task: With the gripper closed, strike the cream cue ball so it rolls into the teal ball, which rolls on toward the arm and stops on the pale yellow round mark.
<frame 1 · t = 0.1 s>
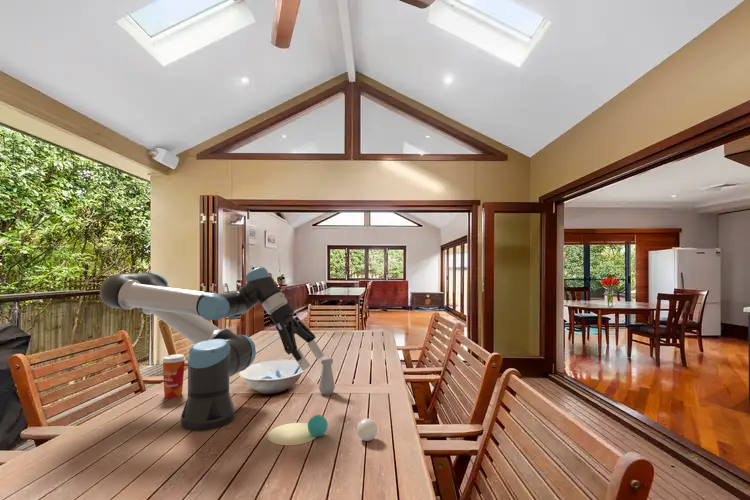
hand: (314, 362, 125), 15 cm above the table, tool tilted 35°, fingers open, 13 cm apart
paper cup: (173, 396, 139), on the table
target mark: (293, 433, 108), on the table
salt shaker: (326, 394, 141), on the table
cue ball: (367, 429, 104), on the table
teal ball: (317, 425, 107), on the table
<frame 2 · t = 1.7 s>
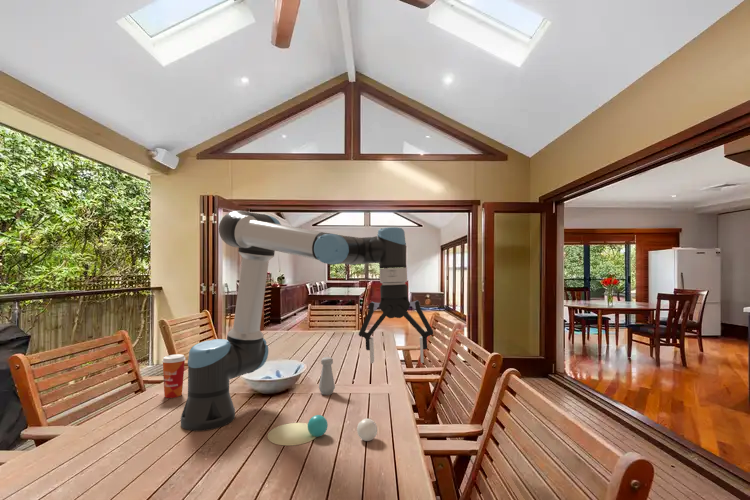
hand: (397, 362, 105), 21 cm above the table, tool pointing down, fingers open, 13 cm apart
nothing on the table moved.
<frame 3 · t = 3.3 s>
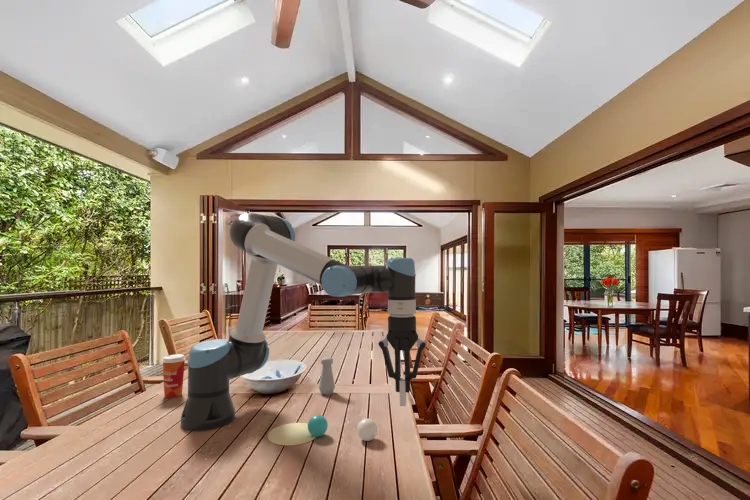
hand: (403, 404, 103), 10 cm above the table, tool pointing down, fingers closed
nothing on the table moved.
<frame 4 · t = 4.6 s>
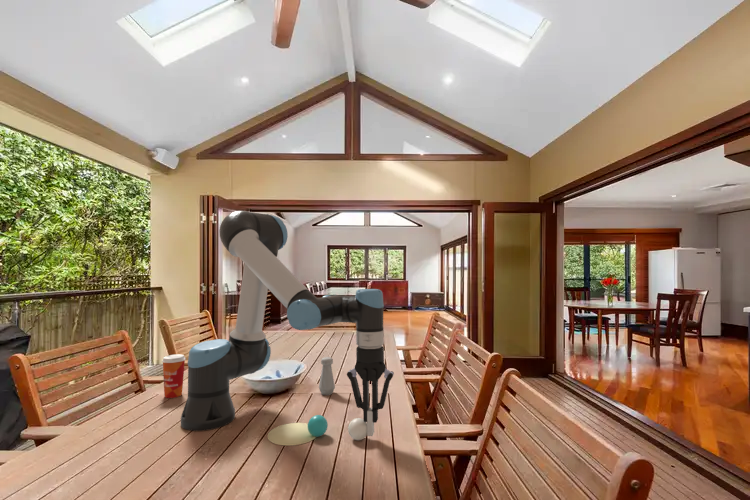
hand: (370, 433, 104), 2 cm above the table, tool pointing down, fingers closed
cue ball: (358, 429, 104), on the table
everything else where it was.
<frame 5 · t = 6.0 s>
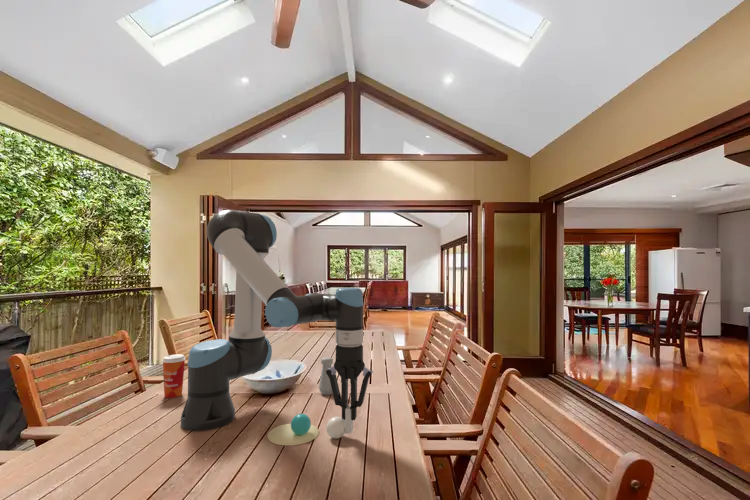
hand: (349, 431, 105), 2 cm above the table, tool pointing down, fingers closed
cue ball: (336, 427, 106), on the table
teal ball: (300, 424, 108), on the table
everything else where it was.
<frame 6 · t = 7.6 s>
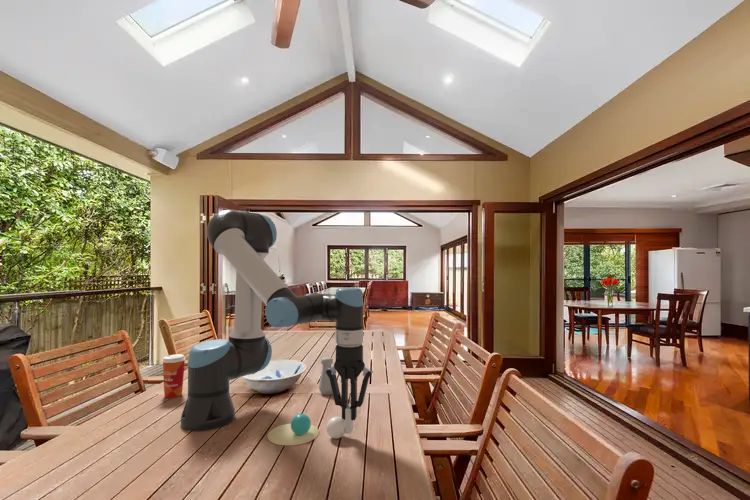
hand: (349, 431, 105), 2 cm above the table, tool pointing down, fingers closed
nothing on the table moved.
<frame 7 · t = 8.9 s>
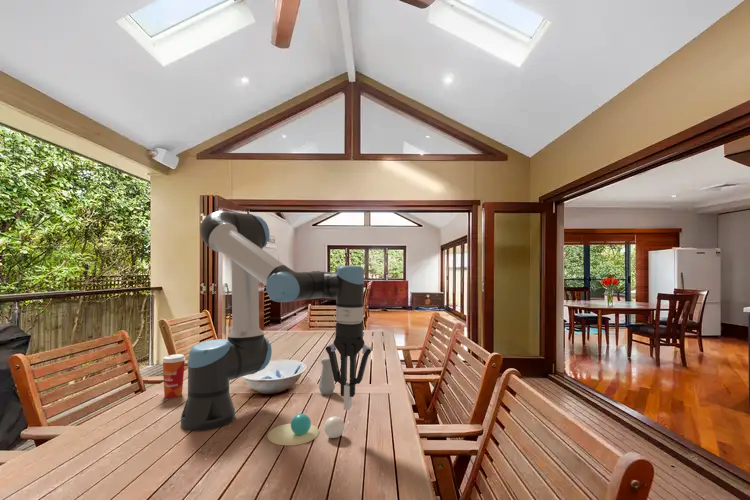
hand: (347, 408, 106), 8 cm above the table, tool pointing down, fingers closed
nothing on the table moved.
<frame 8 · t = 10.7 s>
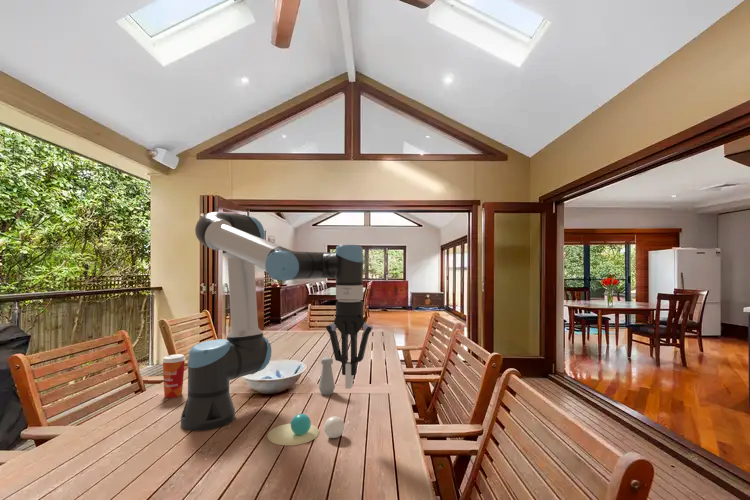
hand: (349, 386, 105), 14 cm above the table, tool pointing down, fingers closed
nothing on the table moved.
at the end: teal ball 2.1 cm from the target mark (horizontally); teal ball never touched the robot; cue ball first touched teal ball at 4.9 s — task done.
